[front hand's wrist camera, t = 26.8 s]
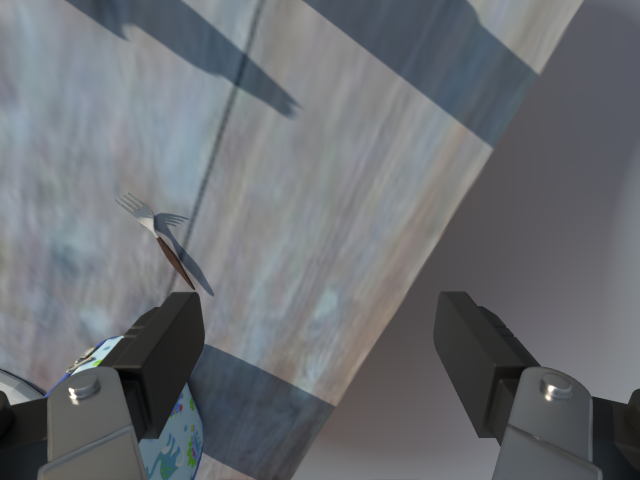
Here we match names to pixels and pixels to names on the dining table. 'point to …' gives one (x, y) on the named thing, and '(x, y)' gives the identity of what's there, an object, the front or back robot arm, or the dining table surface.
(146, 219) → the fork
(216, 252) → the dining table surface
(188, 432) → the lunch box
